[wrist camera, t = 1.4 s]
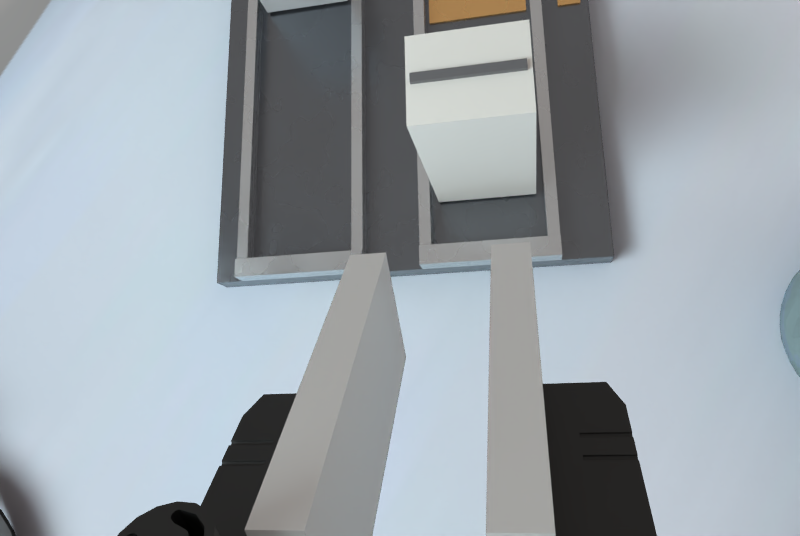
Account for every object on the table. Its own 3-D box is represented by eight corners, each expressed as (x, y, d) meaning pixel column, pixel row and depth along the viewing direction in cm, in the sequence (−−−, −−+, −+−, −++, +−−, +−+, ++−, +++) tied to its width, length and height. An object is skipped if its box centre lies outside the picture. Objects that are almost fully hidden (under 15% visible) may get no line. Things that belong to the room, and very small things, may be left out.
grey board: (611, 262, 33) (616, 250, 31) (226, 287, 37) (208, 278, 35) (570, -140, 39) (572, -173, 37) (244, -82, 43) (229, -108, 41)
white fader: (536, 193, 33) (536, 109, 24) (439, 202, 34) (405, 124, 25) (530, 122, 34) (529, 16, 25) (436, 132, 35) (403, 33, 26)
